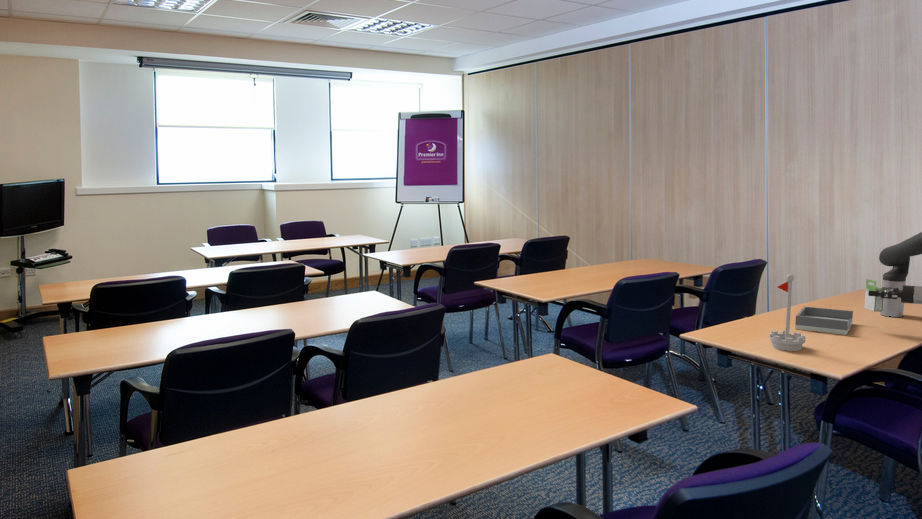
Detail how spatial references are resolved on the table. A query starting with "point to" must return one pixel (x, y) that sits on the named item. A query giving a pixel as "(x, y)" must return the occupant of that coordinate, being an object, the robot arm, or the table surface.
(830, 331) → the tray
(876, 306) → the ink box
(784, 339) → the flag stand
